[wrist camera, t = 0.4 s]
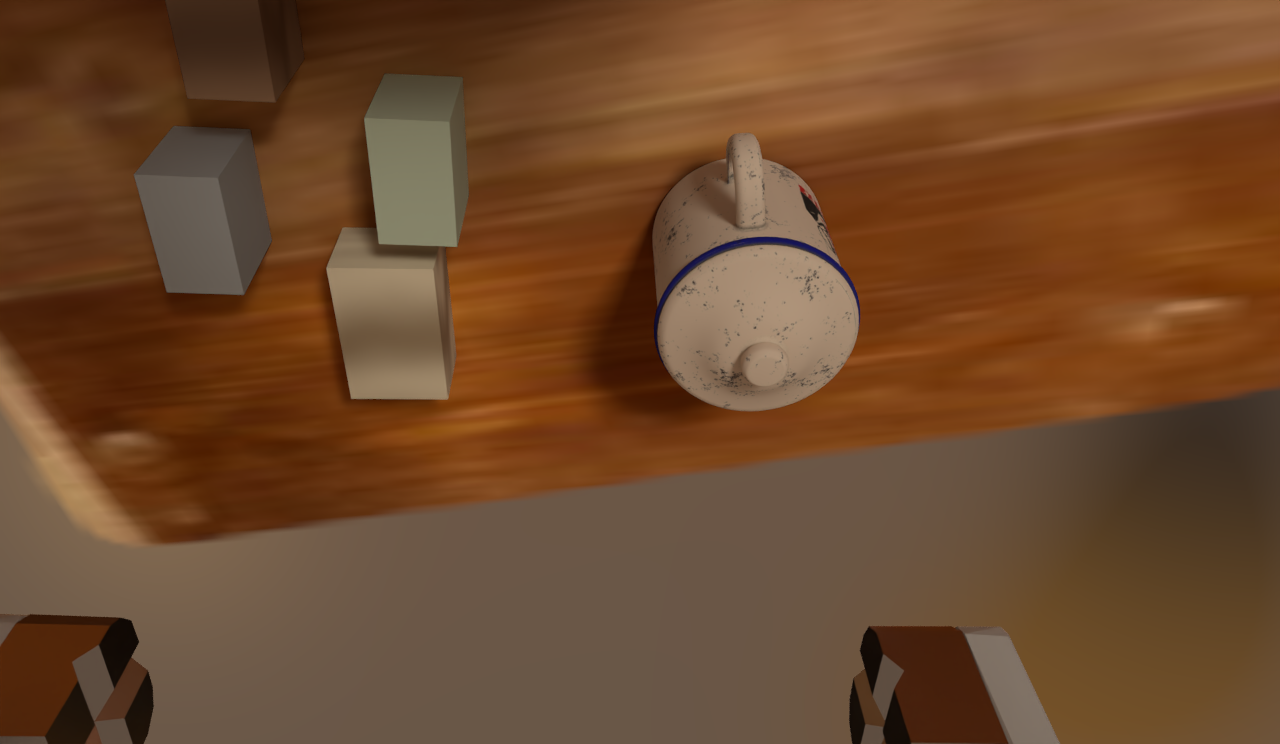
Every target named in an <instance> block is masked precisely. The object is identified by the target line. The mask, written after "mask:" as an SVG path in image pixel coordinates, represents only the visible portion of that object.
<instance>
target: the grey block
mask: <svg viewBox="0 0 1280 744" xmlns="http://www.w3.org/2000/svg"><path fill="white" fill-rule="evenodd" d="M134 177H135V181H136V184H137V188H138V191H139V195H140V199H141V202H142V206H143V209H144V213H145V216H146V220H147V223H148V227H149V231H150V234H151V238H152V241H153V245H154V248H155V252H156V256H157V259H158V263H159V266H160V270H161V273H162V277H163V280H164V284H165V288H166V291H167V292H172V293H202V294H232V295H244V294H245V292H246V290H247V288H248V286H249V284H250V282H251V280H252V278H253V276H254V275H255V273H256V271H257V269H258V267H259V265H260V263H261V261H262V259H263V257H264V255H265V253H266V251H267V249H268V247H269V246H270V244H271V242H272V239H271V234H270V228H269V223H268V218H267V213H266V208H265V203H264V197H263V192H262V187H261V182H260V177H259V172H258V166H257V161H256V156H255V151H254V146H253V141H252V135H251V130H250V129H232V128H209V127H186V126H173V127H172V128H171V130H170V131H169V132H168V133H167V135H166V136H165V137H164V138H163V139H162V141H161V142H160V143H159V144H158V146H157V147H156V148H155V149H154V150H153V152H152V153H151V154H150V155H149V157H148V158H147V159H146V160H145V162H144V163H143V164H142V165H141V166H140V168H139V169H138V170H137V171H136V173H135V174H134Z"/></svg>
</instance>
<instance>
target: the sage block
mask: <svg viewBox="0 0 1280 744" xmlns="http://www.w3.org/2000/svg"><path fill="white" fill-rule="evenodd" d="M364 122H365V130H366V139H367V147H368V156H369V164H370V173H371V181H372V190H373V198H374V207H375V215H376V224H377V232H378V241H379V244H392V245H420V246H448V247H457V245H458V241H459V237H460V232H461V228H462V223H463V219H464V214H465V210H466V206H467V201H468V197H469V190H468V171H467V152H466V132H465V113H464V94H463V77H450V76H429V75H407V74H386V73H385V74H384V76H383V78H382V80H381V83H380V85H379V87H378V89H377V91H376V93H375V96H374V98H373V100H372V102H371V104H370V106H369V108H368V111H367V113H366V115H365V117H364Z"/></svg>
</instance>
